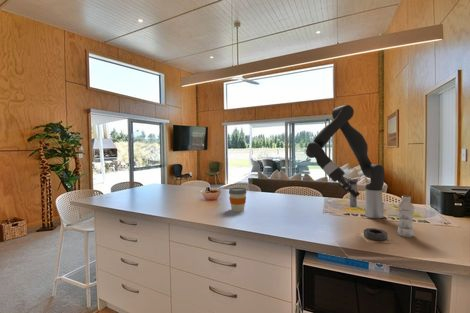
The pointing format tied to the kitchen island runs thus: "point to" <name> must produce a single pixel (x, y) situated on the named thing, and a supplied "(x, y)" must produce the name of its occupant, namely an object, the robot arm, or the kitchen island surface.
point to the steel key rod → (354, 185)
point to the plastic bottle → (405, 217)
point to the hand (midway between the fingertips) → (357, 195)
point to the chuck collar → (375, 234)
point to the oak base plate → (376, 241)
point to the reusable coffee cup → (237, 198)
